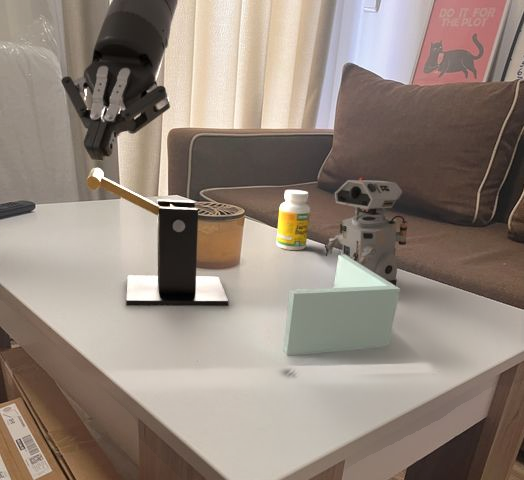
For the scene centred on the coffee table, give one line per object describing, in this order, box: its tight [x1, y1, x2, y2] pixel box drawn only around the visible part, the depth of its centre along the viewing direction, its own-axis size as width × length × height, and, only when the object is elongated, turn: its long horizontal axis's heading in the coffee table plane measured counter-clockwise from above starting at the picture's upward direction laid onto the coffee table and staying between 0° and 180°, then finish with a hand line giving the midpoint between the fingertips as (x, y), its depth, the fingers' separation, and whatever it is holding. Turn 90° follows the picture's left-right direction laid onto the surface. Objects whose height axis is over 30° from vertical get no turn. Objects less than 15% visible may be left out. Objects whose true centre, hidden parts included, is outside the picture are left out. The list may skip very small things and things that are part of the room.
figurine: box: [324, 177, 408, 287], centre depth 75 cm, size 9×12×15 cm
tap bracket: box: [125, 199, 230, 307], centre depth 64 cm, size 12×9×12 cm
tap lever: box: [85, 167, 176, 217], centre depth 60 cm, size 12×6×2 cm, turn 102°
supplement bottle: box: [276, 189, 311, 251], centre depth 92 cm, size 5×5×10 cm
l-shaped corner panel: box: [282, 254, 401, 356], centre depth 59 cm, size 12×12×8 cm
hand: (95, 155), depth 58 cm, fingers closed
